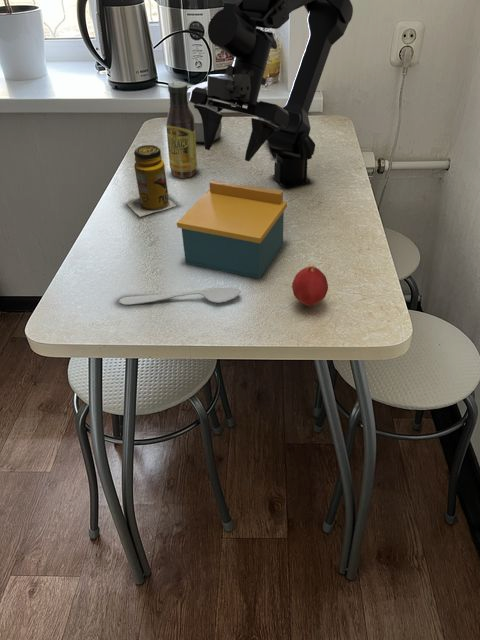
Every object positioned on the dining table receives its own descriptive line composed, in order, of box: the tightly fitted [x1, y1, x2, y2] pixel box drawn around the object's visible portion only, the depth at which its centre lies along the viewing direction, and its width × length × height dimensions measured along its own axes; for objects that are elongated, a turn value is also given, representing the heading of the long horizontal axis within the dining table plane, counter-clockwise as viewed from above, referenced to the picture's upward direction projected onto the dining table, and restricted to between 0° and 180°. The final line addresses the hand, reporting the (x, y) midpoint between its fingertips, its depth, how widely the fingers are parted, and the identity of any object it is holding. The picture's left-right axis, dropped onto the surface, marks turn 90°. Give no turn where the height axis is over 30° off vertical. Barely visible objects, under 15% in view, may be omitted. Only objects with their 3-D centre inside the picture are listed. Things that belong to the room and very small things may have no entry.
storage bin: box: [180, 211, 285, 280], centre depth 106 cm, size 13×15×8 cm
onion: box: [291, 264, 329, 307], centre depth 94 cm, size 6×6×8 cm
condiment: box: [125, 144, 177, 218], centre depth 120 cm, size 7×8×12 cm
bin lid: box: [176, 179, 288, 243], centre depth 103 cm, size 14×16×3 cm
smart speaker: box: [187, 81, 223, 144], centre depth 146 cm, size 10×9×14 cm
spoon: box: [118, 286, 242, 306], centre depth 98 cm, size 4×21×2 cm, turn 92°
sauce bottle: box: [165, 80, 198, 179], centre depth 128 cm, size 7×6×20 cm
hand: (226, 155), depth 107 cm, fingers open, 9 cm apart
